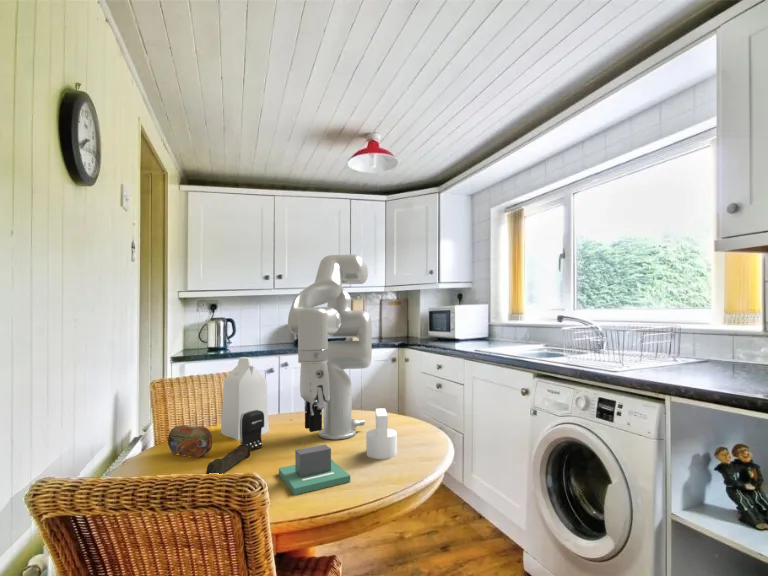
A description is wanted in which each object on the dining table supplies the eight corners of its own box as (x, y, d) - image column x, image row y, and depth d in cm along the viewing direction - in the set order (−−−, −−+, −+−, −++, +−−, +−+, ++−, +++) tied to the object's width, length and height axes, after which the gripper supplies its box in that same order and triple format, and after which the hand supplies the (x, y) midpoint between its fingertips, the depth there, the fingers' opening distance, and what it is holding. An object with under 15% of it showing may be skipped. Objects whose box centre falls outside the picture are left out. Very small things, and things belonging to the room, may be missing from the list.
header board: (329, 463, 110) (329, 444, 110) (350, 481, 98) (350, 460, 98) (278, 473, 103) (278, 454, 103) (294, 495, 91) (294, 472, 91)
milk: (269, 432, 140) (269, 357, 141) (238, 440, 131) (238, 360, 132) (250, 425, 147) (251, 355, 149) (220, 433, 139) (221, 358, 140)
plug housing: (325, 465, 104) (325, 444, 105) (331, 471, 101) (330, 448, 101) (295, 472, 100) (295, 449, 101) (300, 477, 97) (300, 454, 97)
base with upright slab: (398, 458, 113) (398, 415, 113) (366, 460, 112) (366, 416, 113) (395, 447, 122) (394, 408, 122) (366, 449, 121) (365, 408, 122)
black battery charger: (247, 453, 118) (247, 414, 119) (239, 451, 120) (239, 413, 121) (266, 447, 124) (266, 409, 125) (258, 444, 126) (258, 408, 127)
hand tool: (238, 457, 116) (238, 441, 117) (250, 457, 116) (250, 441, 116) (196, 485, 98) (196, 466, 98) (210, 486, 97) (210, 466, 97)
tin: (166, 453, 119) (167, 425, 120) (175, 450, 122) (176, 422, 123) (206, 459, 114) (206, 429, 115) (214, 455, 117) (214, 426, 118)
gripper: (338, 358, 97) (339, 435, 96) (316, 352, 111) (316, 419, 110) (309, 360, 93) (309, 440, 92) (289, 354, 107) (289, 423, 106)
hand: (313, 428), depth 101 cm, fingers open, 2 cm apart
